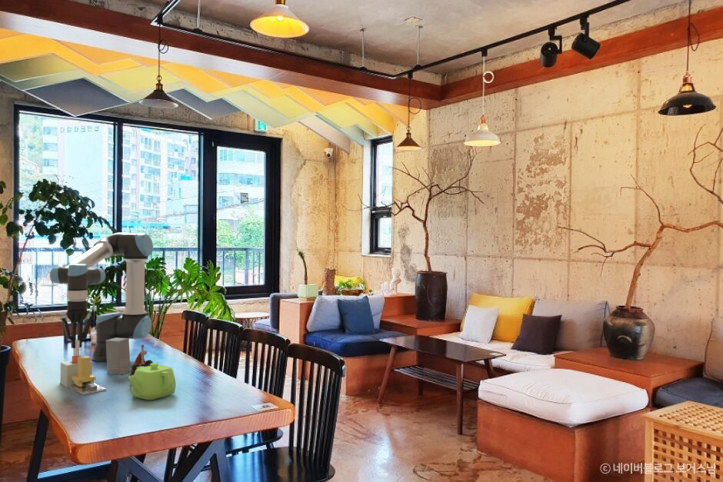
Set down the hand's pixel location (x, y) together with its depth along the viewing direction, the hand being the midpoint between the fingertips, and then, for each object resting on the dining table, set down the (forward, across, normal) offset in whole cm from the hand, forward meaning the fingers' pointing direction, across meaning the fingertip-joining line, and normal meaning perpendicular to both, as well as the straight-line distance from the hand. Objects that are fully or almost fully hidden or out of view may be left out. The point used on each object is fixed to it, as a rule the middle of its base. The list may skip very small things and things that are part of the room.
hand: (76, 355), depth 235 cm
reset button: (+5, 0, 0) cm, 5 cm away
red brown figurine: (+12, -17, +25) cm, 33 cm away
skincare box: (+12, -20, -6) cm, 24 cm away
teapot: (+12, -13, +40) cm, 44 cm away
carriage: (+11, 0, +8) cm, 14 cm away
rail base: (+12, 0, +12) cm, 17 cm away
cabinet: (+12, 0, 0) cm, 12 cm away
